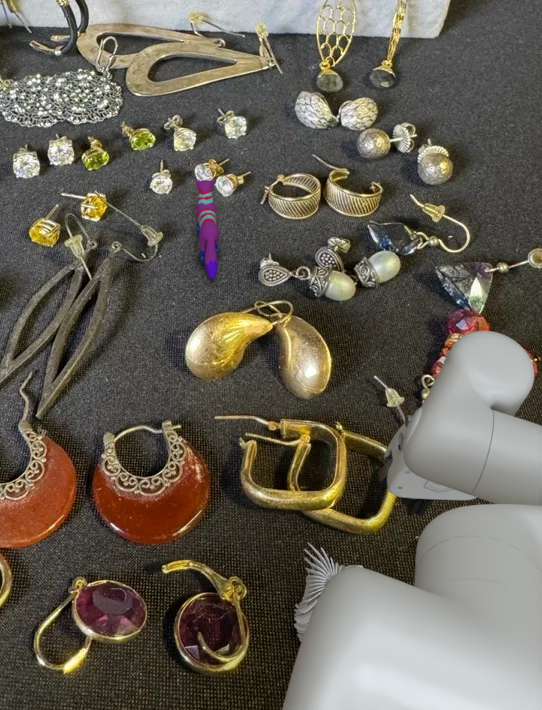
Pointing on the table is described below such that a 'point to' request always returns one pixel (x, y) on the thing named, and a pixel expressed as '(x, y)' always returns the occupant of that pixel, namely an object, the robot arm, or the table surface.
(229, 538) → the table surface
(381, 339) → the table surface
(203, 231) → the purple striped elongated piece
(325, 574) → the shell sculpture
